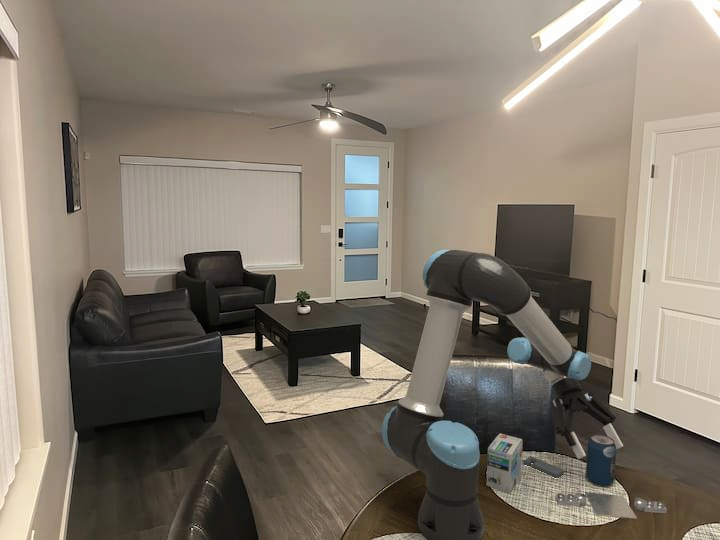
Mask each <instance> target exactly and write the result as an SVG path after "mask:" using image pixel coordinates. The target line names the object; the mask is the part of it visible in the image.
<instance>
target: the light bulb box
mask: <svg viewBox="0 0 720 540" xmlns="http://www.w3.org/2000/svg"><path fill="white" fill-rule="evenodd" d="M523 442H524V441H523V439H522V438H519V437H515V436H511V435H508V434H503V433H501V432H500V433H499V434H498V435H496V437H495V438H494V439H493V441H492V442H491V444H490V445H489V446H488V447H487V464H486V486H487V487H490V488H492V489H497V490H500V491H504V492H505V493H509V494H511V493H512V491H513V490H514V488H515V486H516V484H518V482H519V480H520V478H521V477H522V465H523V461H522V460H523ZM520 476H521V477H520ZM517 481H518V482H517Z"/></svg>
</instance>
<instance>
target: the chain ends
mask: <svg viewBox="0 0 720 540" xmlns="http://www.w3.org/2000/svg"><path fill="white" fill-rule="evenodd" d="M587 498H588V499H587ZM555 499H556V501H558V502H557V504H558V505H559V504H560V505H561V506H569V505H571V506H572V505H573V506H572V507H586V506H587V501H588V502H589V504H590V506H591V509H592V510H593V512H594V514H595V515H596V516H598V517H612V518H613V517H614V518H615V517H616V518H623V519H624V518H625V519H635V520H638V517H637V515H636V514H635V512H634V511H633V509H632V508H631V506H630V504H629V503H628V501H627V500H626V498H625V496H624V495H621V494H606V493H597V492H596V493H593V492H585V493H581V492H576V493H575V494H572V493H568V494H565V493H562V492H561V493H560V492H558V493H555ZM560 505H559V506H560ZM585 505H586V506H585ZM571 506H570V507H571ZM633 508H634V509H635V510H637V511H639V512H644V513H656V514H667V511H668V510H667V507H666V506H665V502H664V501H661V500H658V501H653V500H649V499H648V500H646V499H644V498H641V497H634V501H633Z"/></svg>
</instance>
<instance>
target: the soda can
mask: <svg viewBox="0 0 720 540" xmlns="http://www.w3.org/2000/svg"><path fill="white" fill-rule="evenodd" d="M586 449H587V450H586V452H587V453H586V466H585V476H586V478H587V480H588V481H589V482H590V483H591V484H592V485H594V486H598V487H601V488H604V487H605V488H607V487H610V486H611V485H612V484H613V483H614V482H615V471H616V457H617V450H616V446H615V443H614V440H613V439H612V438H610V437H608V436H607V435H605V434H592V435H590V439H589V440H588V442H587V448H586Z"/></svg>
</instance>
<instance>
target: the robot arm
mask: <svg viewBox="0 0 720 540" xmlns="http://www.w3.org/2000/svg"><path fill="white" fill-rule="evenodd" d="M422 280H423V284H424V286H425V288H426V289H427V290H426V291H427V292H426V296H425V298H426V300H427V301H428V302H429V307H428V311H427V315H426V318H425V321H424V322H425V323H424V326H423V330H422V334H421V338H420V341H419V345H418V348H417V352H416V357H415V360H414V365H413V368H412V372H411V375H410V379H409V383H408V387H407V392H406V394H405V396H403V397H402V398H400V399H399V400H398V401H397V405H396V406H393V407H392V408H391V409H390V411H389V412H387V413H386V415H385V416H384V417H383V421H382V425H381V437H382V440H383V443H384V445H385V446H386V448H387V449H388V450H389V451H390V452H392V453H393V454H394V455H395V456H396V457H398V458H399V459H402V460H403V461H405V462H406V463H408V464H409V465H411V466H412V467H414V468H416V469H418V470H419V471H420V472H422V473H423V474H425V477H426V478H425V479H426V480H425V481H426V482H425V484H426V486H425V487H426V488H425V489H426V490H425V494H424V497H423V499H422V502H421V505H420V507H419V510H418V513H417V526H418V530H419V532H420V533H421V535H422V536H423V537H425V538H426V539H427V540H481V539H482V538H483V537H484V533H485V519H484V516H483V511H482V509H481V505H480V503H479V499H478V492H479V491H478V490H479V489H478V488H479V487H478V486H479V470H480V469H479V468H480V458H481V457H480V454H481V453H480V442H479V439H478V436H477V435H476V433H475V432H474V431H473V430H472V429H471V428H470V427H468V426H466V425H465V424H463V423H460V422H456V421H455V422H452V421H451V420H443V417H444V412H443V410H442V409H441V407H440V403H441V401H442V397H443V392H444V388H445V385H446V380H447V377H448V372H449V369H450V366H451V362H452V358H453V354H454V349H455V346H456V343H457V338H458V335H459V331H460V327H461V322H462V320H463V315H464V313H466V312H467V311H469V310H471V309H472V307H473V306H472V305H473V301H475V302H479V303H483V304H485V305H488V306H489V307H491V308H493V309H494V310H495V311H496V312H497V313H498V314H500V315H501V316H506V317H507V318H508V319H509V321H511V322H512V324H513V325H514V326H515V327H516V328H517V330H519V332H520V333H521V334H522V335H523V337H514V338H513V339H511V340H510V341H509V343H508V345H507V349H506V350H507V351H506V352H507V356H508V358H509V359H510V361H512V362H513V363H514V364H517V365H518V364H520V365H522V366H523V365H529V366H532V367H534V368H536V369H541V370H542V371H543V374H544V375H545V377H546V380H547V381H548V383H549V385H551V390H552V391H553V393H554V394H555V397H556V398H554V399H553V400H552V401H550V402H551V406H552V408H553V415H554V416H553V417H554V428H555V434H556V435H560V436H561V437H564V438H565V440H566V442H567V444H568V446H569V447H570V448H571V449H572V450H573V453H574V454H575V456H576V458H577V460H581V459H582V458H584V457H587V453H585V451H584V448H583V447H582V444H581V443H580V440H579V439H578V437H577V435H576V433H575V431H572V425H573V419H574V418H573V417H574V414H575V413H577V412H578V413H581V412H583V413H586V414H588V416H590V417H592V418H593V419H595V420H596V421H598V422H599V423H600V424H602V425H603V427H602V428H603V430H604V432H605V433H606V436H608V437H610V438H612V439H613V440H614V443H615V446H616V451H617V450H618V449H621V448H622V447H624V443H622V441H621V439H620V436H619V433H618V430H617V429H616V427H615V426H614V424H613V423H614V422H615V421H616V420H617V417H616V415H614V414H613V413H612V412H611V411H610V410H609V409H608V408H607V407H606V406H605V405H604V404H603V403H602V402H600V401H599V399H598V398H596V396H595V395H594V393H593V392H592V391H588V392H587V393H585V394H584V392H582V385H581V384H580V382H579V381H583V380H585V379H586V378H587V377H588V376H589V373H590V372H591V368H592V359H591V356H590V355H589V354H588V353H585V352H582V351H581V350H576V349H574V348H573V347H572V345H571V344H570V343H569V342H568V340H567V339H566V338H565V336H564V335H563V334H562V333H561V332H560V330H559V329H558V328H557V326H556V325H555V323H553V321H552V320H551V319H550V318H549V317H548V315H547V314H546V313H545V312H544V310H543V309H542V308H541V307H540V306H539V304H538V303H537V302H536V300H535V299H534V298H533V297H532V291H531V288H530V285H528V284H527V282H526V281H525V280H524V279H523V278H522V276H520V274H519V273H518V272H516V271H515V269H513V268H512V267H511V266H509V264H507V263H506V262H505V261H503V260H502V259H500V258H498V257H496V256H494V255H492V254H490V253H485V252H474V251H467V250H461V249H455V248H454V249H441V250H438V251H436V252H434V253H432V255H430V257H429V258H428V259H427V260H426V261H425V264H424V265H423V269H422ZM563 410H564V411H563Z"/></svg>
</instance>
